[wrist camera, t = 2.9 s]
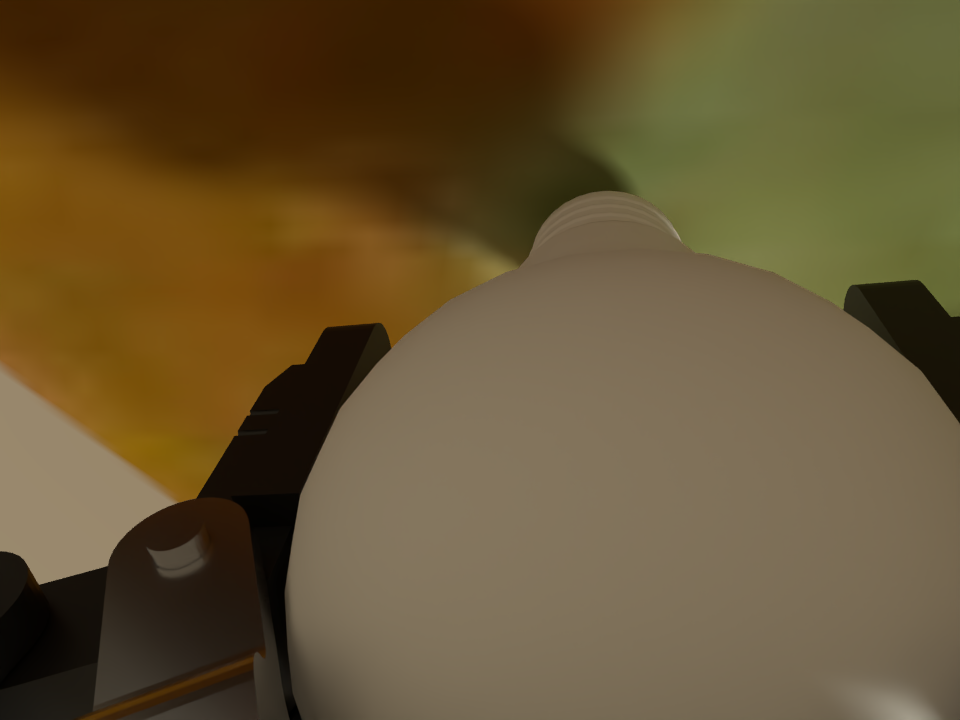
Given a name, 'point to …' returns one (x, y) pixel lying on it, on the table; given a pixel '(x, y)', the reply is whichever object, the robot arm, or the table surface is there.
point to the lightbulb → (631, 503)
